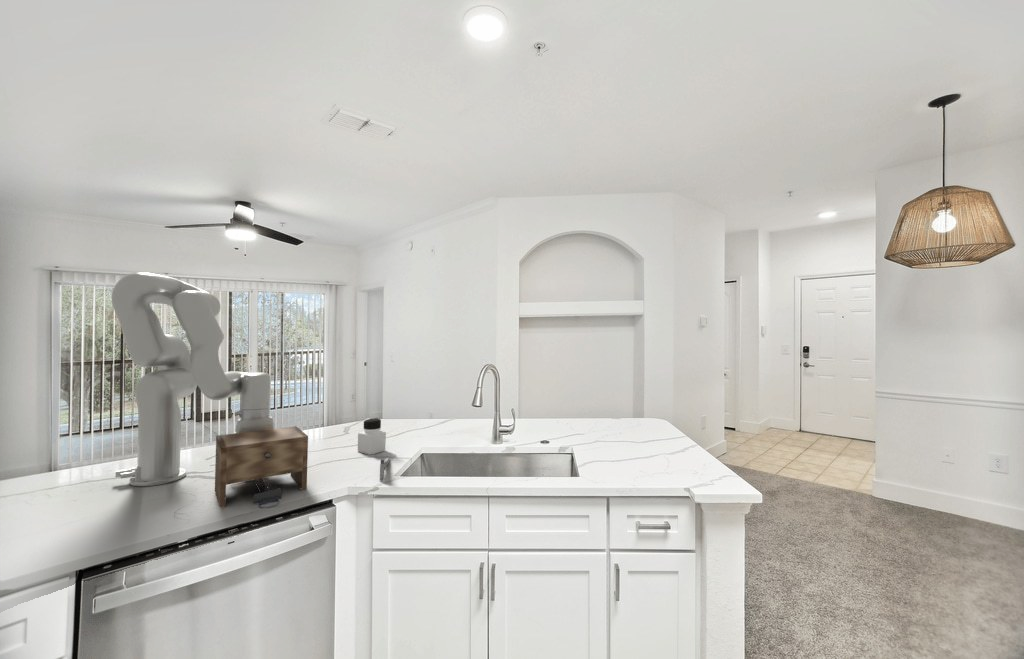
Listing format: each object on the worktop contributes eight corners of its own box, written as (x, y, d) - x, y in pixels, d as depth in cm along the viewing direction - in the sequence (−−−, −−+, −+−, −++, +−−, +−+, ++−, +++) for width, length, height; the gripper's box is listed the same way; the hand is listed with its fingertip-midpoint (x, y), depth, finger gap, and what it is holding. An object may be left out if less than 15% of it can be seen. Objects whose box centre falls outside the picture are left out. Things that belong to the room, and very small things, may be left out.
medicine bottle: (385, 450, 154) (386, 418, 154) (370, 455, 148) (370, 421, 148) (372, 447, 158) (373, 416, 158) (357, 451, 152) (358, 419, 152)
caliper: (383, 482, 124) (383, 461, 124) (379, 482, 124) (380, 461, 124) (389, 460, 144) (390, 442, 144) (386, 460, 144) (387, 442, 144)
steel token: (270, 510, 103) (270, 506, 103) (254, 508, 104) (254, 504, 104) (282, 503, 108) (282, 499, 108) (267, 501, 108) (267, 497, 108)
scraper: (254, 504, 106) (254, 480, 106) (239, 473, 127) (240, 453, 127) (280, 498, 109) (281, 475, 109) (262, 469, 131) (262, 450, 131)
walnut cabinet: (220, 509, 102) (221, 448, 102) (214, 490, 114) (216, 435, 114) (307, 491, 115) (309, 437, 115) (294, 475, 127) (296, 426, 127)
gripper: (223, 419, 117) (222, 483, 117) (288, 412, 128) (286, 472, 128) (221, 414, 123) (219, 476, 123) (282, 408, 133) (281, 465, 133)
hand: (253, 473), depth 125 cm, fingers closed on scraper, 3 cm apart
